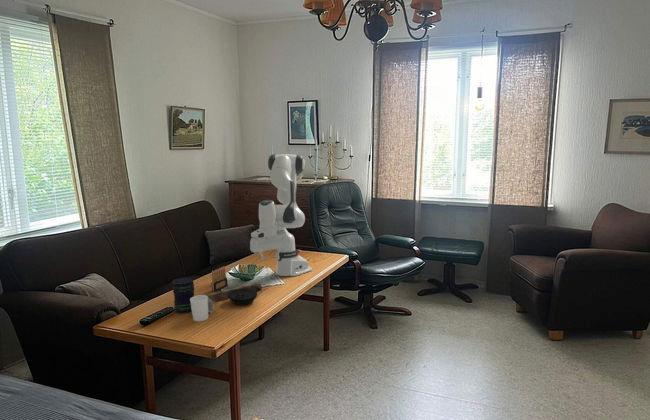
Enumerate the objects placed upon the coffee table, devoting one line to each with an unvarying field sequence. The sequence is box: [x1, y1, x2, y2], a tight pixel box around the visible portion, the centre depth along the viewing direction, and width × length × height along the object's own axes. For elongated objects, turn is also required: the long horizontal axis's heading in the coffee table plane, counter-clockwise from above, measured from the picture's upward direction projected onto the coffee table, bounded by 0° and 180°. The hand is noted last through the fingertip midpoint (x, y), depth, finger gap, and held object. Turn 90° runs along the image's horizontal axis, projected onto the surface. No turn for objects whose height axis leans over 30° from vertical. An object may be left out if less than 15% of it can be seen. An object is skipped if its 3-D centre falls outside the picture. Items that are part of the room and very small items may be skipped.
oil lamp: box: [228, 286, 261, 306], centre depth 224 cm, size 15×20×5 cm
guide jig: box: [205, 281, 263, 314], centre depth 225 cm, size 34×15×5 cm, turn 125°
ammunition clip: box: [211, 265, 229, 293], centre depth 243 cm, size 11×2×12 cm, turn 150°
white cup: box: [190, 294, 209, 322], centre depth 202 cm, size 8×8×10 cm
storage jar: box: [172, 276, 195, 315], centre depth 214 cm, size 10×10×15 cm
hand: (270, 258), depth 230 cm, fingers open, 7 cm apart
